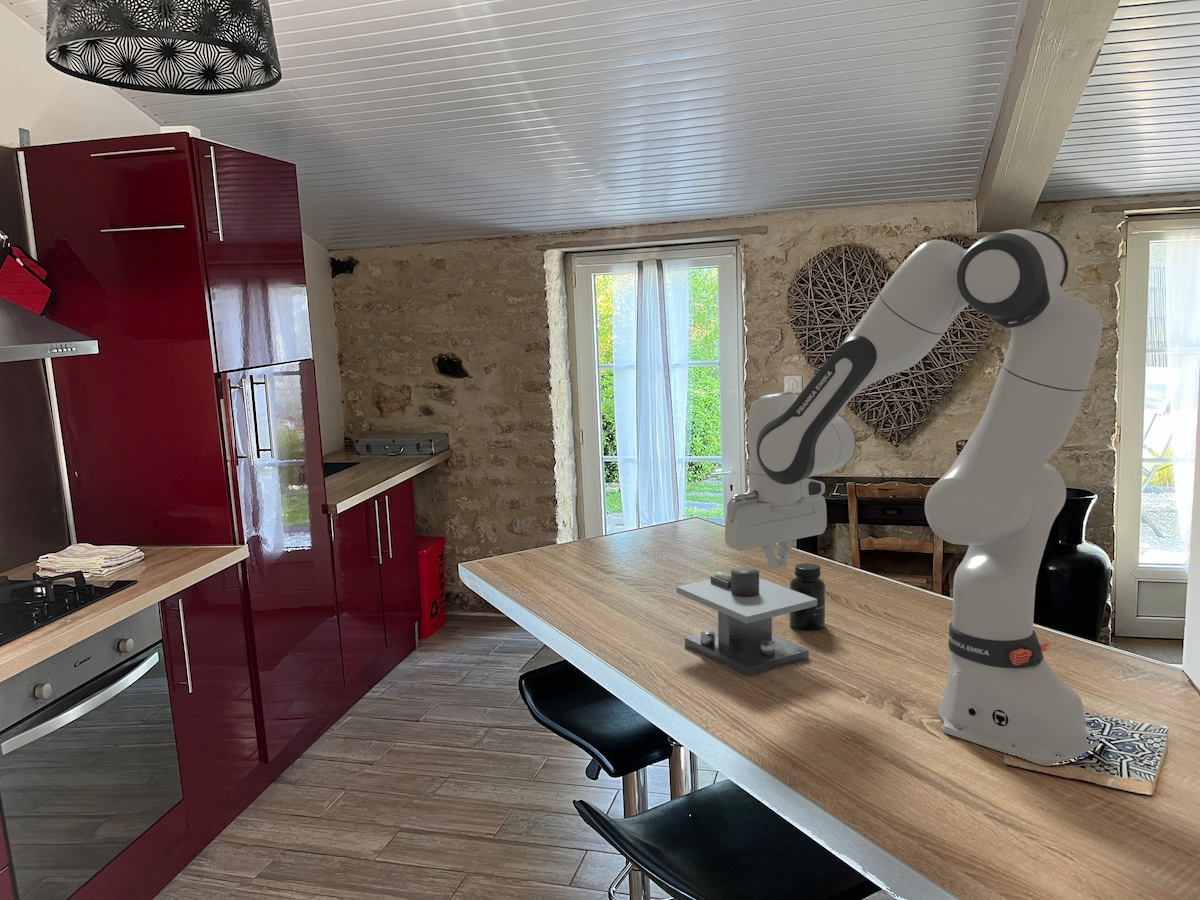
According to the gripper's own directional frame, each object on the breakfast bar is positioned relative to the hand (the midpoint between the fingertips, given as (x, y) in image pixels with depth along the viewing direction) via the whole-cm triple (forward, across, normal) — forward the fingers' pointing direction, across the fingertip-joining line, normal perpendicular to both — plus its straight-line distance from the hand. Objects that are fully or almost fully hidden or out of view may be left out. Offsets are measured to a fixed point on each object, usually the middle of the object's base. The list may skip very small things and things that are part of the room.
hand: (777, 567), depth 160 cm
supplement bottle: (+18, +19, +13) cm, 29 cm away
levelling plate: (+8, 0, +9) cm, 11 cm away
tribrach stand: (+18, 0, +9) cm, 20 cm away
